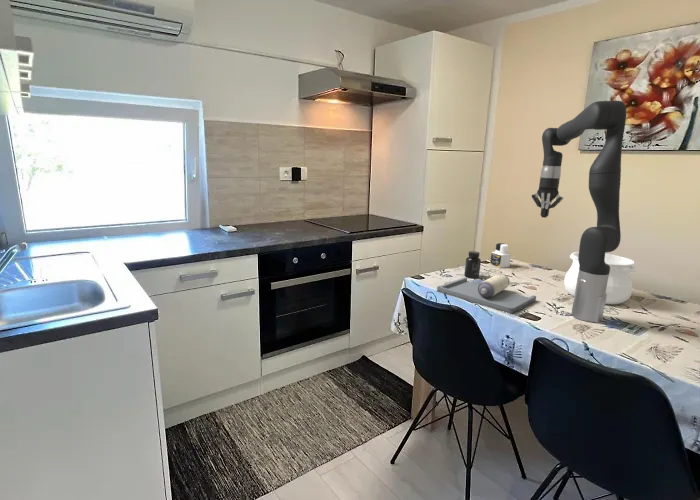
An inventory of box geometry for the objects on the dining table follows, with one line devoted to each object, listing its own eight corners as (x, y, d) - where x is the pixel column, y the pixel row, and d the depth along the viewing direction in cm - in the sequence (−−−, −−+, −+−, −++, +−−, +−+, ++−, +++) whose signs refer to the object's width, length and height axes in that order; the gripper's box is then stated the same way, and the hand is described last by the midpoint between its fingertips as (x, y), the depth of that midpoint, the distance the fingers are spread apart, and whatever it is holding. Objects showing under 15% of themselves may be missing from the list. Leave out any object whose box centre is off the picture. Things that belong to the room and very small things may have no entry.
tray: (535, 300, 161) (536, 296, 160) (511, 314, 146) (512, 308, 145) (464, 281, 183) (464, 277, 183) (436, 291, 168) (437, 286, 167)
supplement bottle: (480, 276, 192) (483, 252, 189) (476, 279, 187) (479, 254, 184) (466, 273, 196) (469, 249, 193) (462, 276, 190) (464, 252, 188)
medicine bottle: (489, 264, 215) (492, 242, 212) (499, 263, 218) (502, 242, 215) (499, 268, 208) (502, 245, 206) (509, 267, 211) (512, 244, 209)
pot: (548, 290, 175) (554, 253, 171) (583, 284, 186) (590, 248, 182) (608, 310, 153) (616, 268, 149) (643, 302, 164) (652, 262, 160)
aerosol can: (490, 278, 175) (471, 288, 160) (502, 270, 171) (484, 280, 156) (499, 291, 173) (481, 303, 158) (512, 283, 169) (494, 295, 154)
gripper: (530, 176, 172) (525, 216, 176) (563, 178, 163) (556, 220, 167) (537, 176, 178) (532, 214, 182) (569, 177, 168) (563, 218, 172)
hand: (544, 217), depth 174 cm, fingers closed
